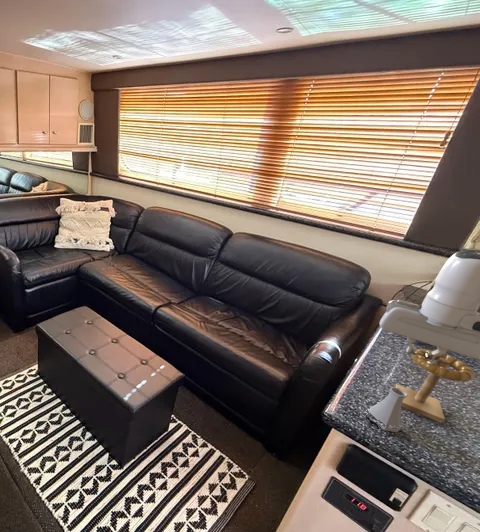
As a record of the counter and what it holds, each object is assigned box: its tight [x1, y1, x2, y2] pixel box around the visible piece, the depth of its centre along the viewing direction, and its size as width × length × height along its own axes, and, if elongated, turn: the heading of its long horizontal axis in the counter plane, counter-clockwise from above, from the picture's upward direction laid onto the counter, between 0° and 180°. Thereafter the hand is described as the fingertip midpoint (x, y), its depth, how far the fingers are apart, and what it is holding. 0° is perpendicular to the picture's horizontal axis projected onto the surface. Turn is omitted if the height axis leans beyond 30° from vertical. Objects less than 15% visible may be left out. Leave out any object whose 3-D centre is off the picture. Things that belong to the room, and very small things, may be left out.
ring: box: [410, 348, 476, 383], centre depth 83 cm, size 11×11×2 cm
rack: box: [394, 358, 450, 424], centre depth 86 cm, size 9×9×16 cm
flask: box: [363, 386, 408, 433], centre depth 81 cm, size 7×7×10 cm
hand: (419, 355), depth 86 cm, fingers closed on ring, 2 cm apart
